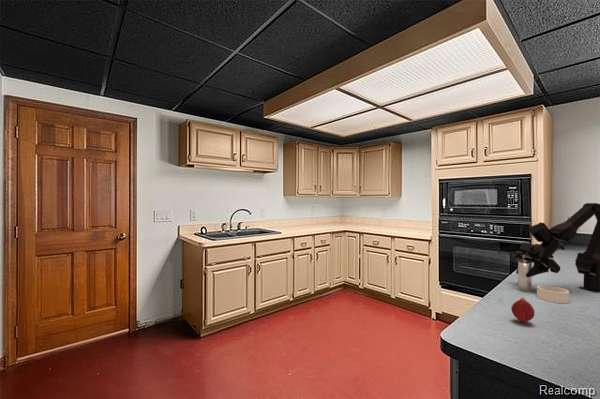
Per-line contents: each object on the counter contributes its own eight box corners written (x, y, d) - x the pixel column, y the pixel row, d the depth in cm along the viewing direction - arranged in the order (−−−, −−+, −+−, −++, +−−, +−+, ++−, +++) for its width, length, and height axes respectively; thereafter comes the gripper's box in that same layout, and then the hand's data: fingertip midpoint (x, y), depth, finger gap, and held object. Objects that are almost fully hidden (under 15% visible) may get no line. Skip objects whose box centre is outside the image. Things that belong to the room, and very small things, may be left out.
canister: (522, 288, 129) (523, 258, 128) (534, 291, 124) (534, 261, 124) (514, 289, 127) (515, 259, 127) (526, 292, 123) (526, 261, 122)
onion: (539, 326, 90) (539, 300, 89) (520, 326, 90) (520, 300, 90) (524, 318, 95) (525, 294, 95) (507, 318, 95) (507, 294, 95)
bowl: (547, 294, 121) (547, 284, 121) (574, 301, 112) (574, 291, 112) (531, 296, 118) (531, 286, 118) (558, 304, 109) (558, 293, 109)
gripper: (516, 233, 135) (493, 257, 134) (554, 239, 116) (528, 267, 116) (531, 250, 136) (509, 274, 135) (572, 259, 117) (546, 286, 116)
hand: (521, 275), depth 125 cm, fingers closed on canister, 5 cm apart
